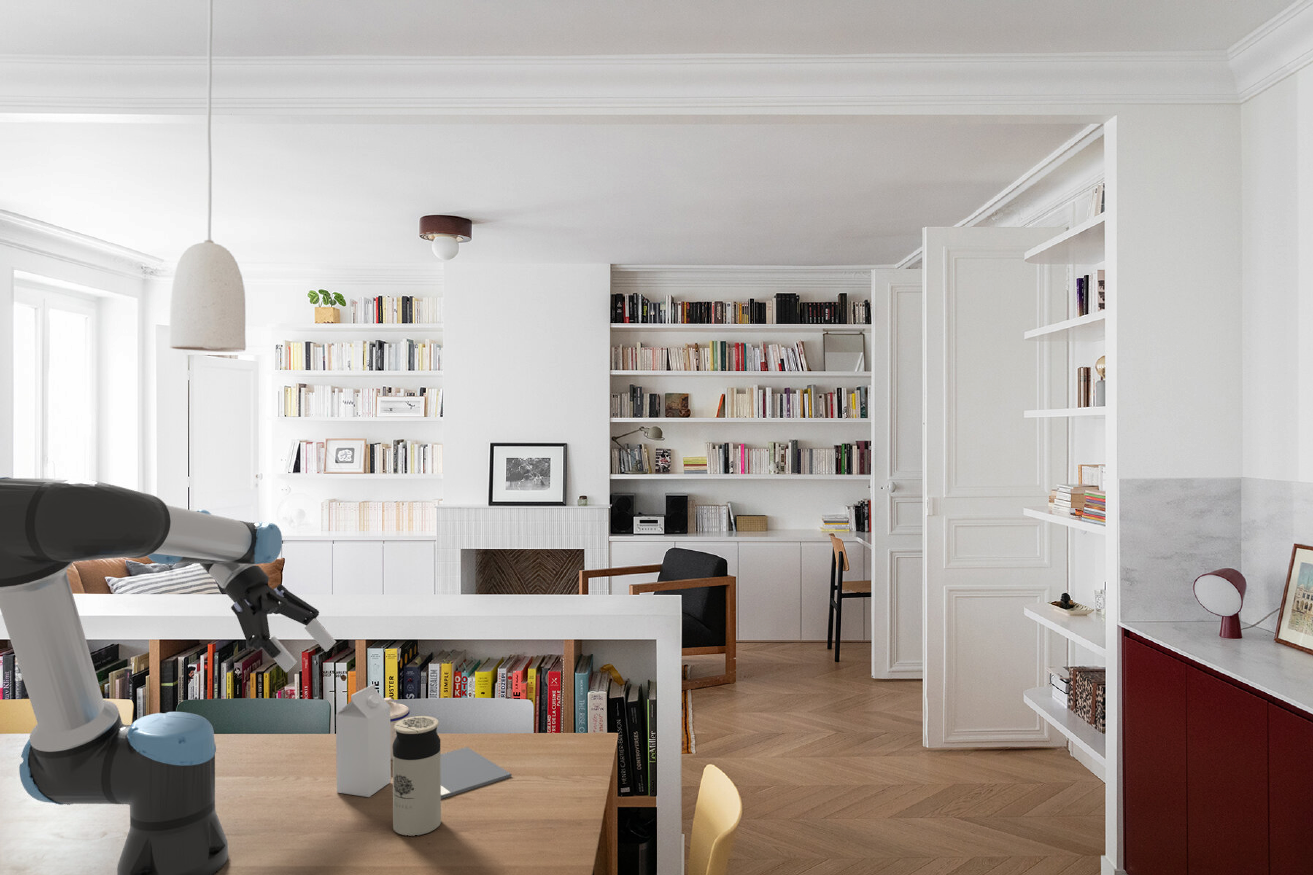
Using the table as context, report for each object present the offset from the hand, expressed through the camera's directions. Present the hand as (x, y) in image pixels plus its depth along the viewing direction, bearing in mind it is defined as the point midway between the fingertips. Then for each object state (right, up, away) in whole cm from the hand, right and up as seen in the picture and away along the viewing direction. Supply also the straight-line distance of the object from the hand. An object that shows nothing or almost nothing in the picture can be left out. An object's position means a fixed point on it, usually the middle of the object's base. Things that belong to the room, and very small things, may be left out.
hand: (312, 656), depth 164 cm
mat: (+26, -25, +5) cm, 36 cm away
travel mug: (+25, -25, -17) cm, 39 cm away
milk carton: (+11, -25, -2) cm, 27 cm away
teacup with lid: (+10, -25, +14) cm, 30 cm away
